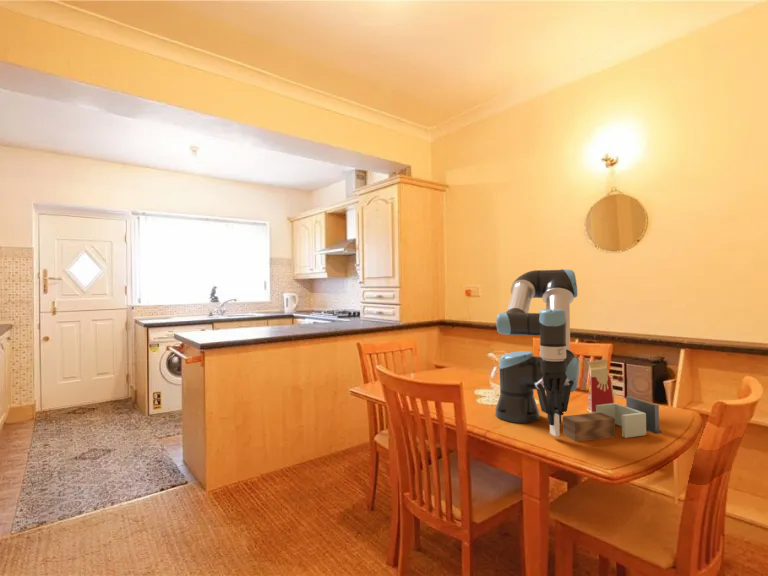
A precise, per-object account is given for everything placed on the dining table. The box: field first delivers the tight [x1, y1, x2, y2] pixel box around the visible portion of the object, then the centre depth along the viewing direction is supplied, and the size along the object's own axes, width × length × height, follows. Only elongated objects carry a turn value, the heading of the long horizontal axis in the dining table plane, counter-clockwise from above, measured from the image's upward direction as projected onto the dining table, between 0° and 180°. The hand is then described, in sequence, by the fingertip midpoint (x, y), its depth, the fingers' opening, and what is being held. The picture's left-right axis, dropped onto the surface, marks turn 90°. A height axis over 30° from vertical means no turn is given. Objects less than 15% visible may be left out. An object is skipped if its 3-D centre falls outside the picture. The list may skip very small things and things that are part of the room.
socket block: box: [596, 402, 647, 439], centre depth 132 cm, size 8×12×7 cm
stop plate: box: [625, 395, 663, 435], centre depth 134 cm, size 2×11×9 cm, turn 14°
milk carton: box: [585, 358, 615, 414], centre depth 152 cm, size 9×9×20 cm
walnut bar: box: [562, 413, 616, 442], centre depth 128 cm, size 14×6×6 cm, turn 101°
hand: (554, 434), depth 126 cm, fingers closed
